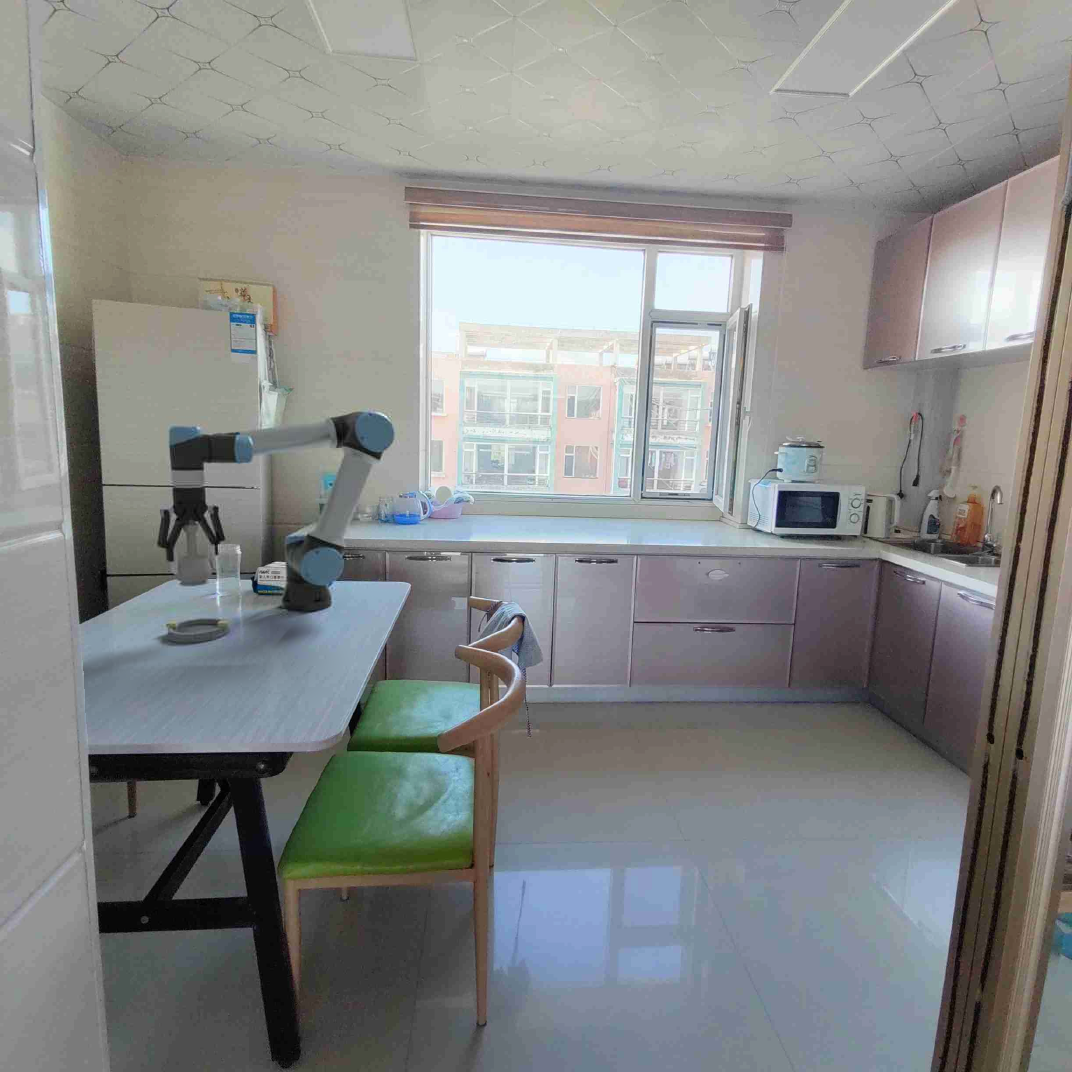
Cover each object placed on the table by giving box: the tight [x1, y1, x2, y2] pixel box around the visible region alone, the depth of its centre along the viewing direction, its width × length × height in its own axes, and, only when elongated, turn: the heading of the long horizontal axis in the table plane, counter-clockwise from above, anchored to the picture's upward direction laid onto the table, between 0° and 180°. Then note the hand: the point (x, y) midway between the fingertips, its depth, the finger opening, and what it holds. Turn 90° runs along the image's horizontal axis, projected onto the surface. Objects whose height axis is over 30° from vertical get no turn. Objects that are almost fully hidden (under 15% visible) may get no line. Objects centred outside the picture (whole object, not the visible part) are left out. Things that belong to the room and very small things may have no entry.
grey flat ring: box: [165, 617, 230, 644], centre depth 167 cm, size 15×15×3 cm
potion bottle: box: [174, 519, 213, 587], centre depth 163 cm, size 9×9×18 cm
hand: (194, 570), depth 164 cm, fingers closed on potion bottle, 9 cm apart
